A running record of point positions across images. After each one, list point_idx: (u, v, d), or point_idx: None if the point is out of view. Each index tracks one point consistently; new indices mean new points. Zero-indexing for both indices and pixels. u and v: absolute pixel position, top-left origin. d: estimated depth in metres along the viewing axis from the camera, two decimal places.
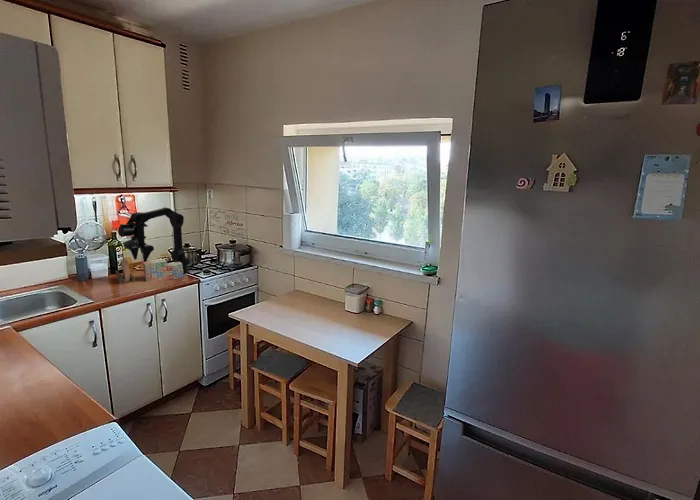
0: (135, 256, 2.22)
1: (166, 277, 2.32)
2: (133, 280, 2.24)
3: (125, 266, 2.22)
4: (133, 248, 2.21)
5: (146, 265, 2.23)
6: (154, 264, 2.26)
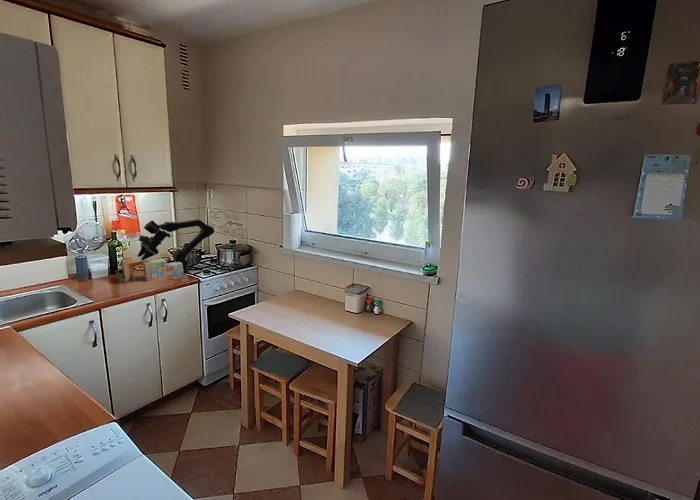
0: (140, 254, 2.33)
1: (166, 277, 2.32)
2: (133, 280, 2.24)
3: (125, 266, 2.22)
4: (144, 247, 2.34)
5: (146, 265, 2.23)
6: (154, 264, 2.26)
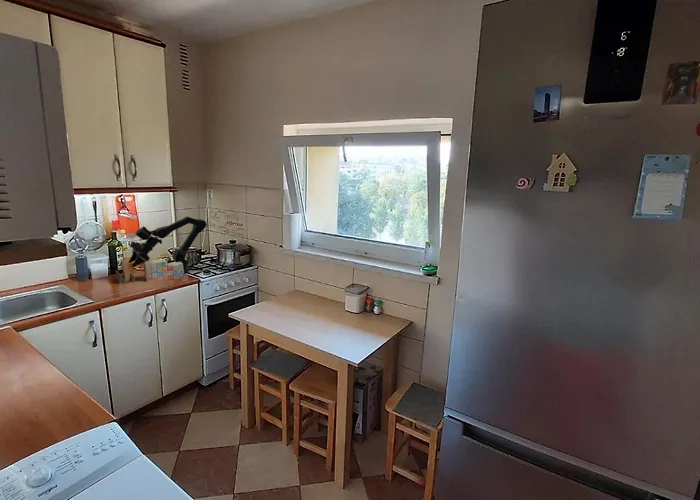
0: (131, 260, 2.30)
1: (167, 277, 2.32)
2: (133, 280, 2.24)
3: (125, 266, 2.22)
4: (136, 253, 2.32)
5: (147, 265, 2.23)
6: (155, 264, 2.26)
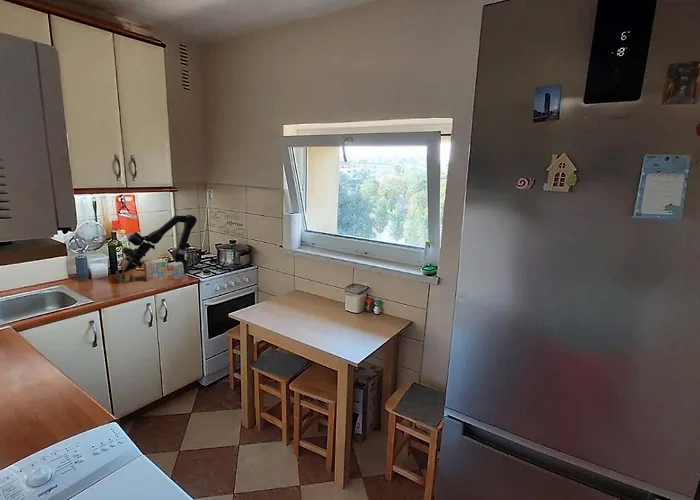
0: None
1: (167, 277, 2.32)
2: (133, 280, 2.24)
3: (125, 266, 2.22)
4: (129, 260, 2.29)
5: (147, 265, 2.23)
6: (155, 264, 2.26)
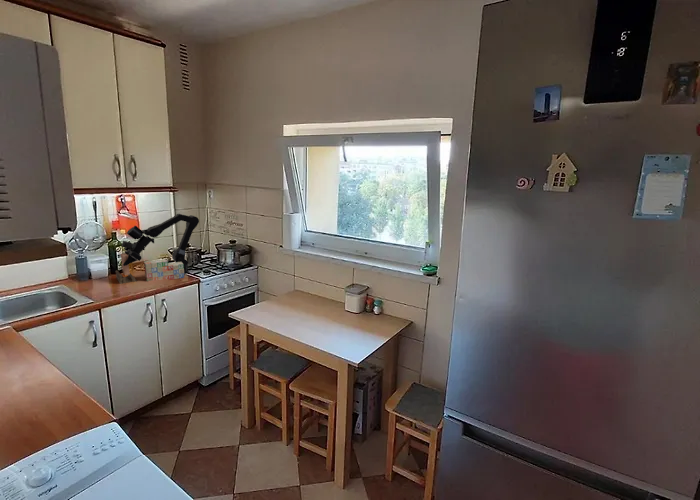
0: None
1: (167, 277, 2.32)
2: (133, 280, 2.24)
3: (124, 260, 2.21)
4: (128, 253, 2.28)
5: (147, 265, 2.24)
6: (155, 264, 2.26)
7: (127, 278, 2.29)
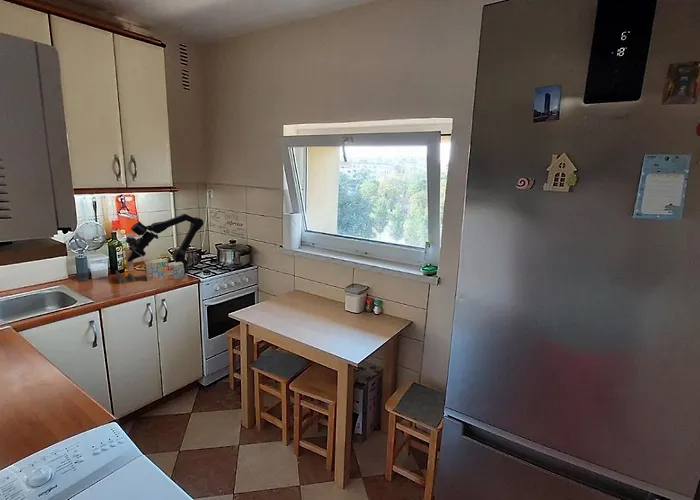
0: None
1: (167, 277, 2.32)
2: (133, 280, 2.24)
3: (128, 255, 2.22)
4: (132, 249, 2.29)
5: (147, 265, 2.24)
6: (155, 264, 2.26)
7: (127, 278, 2.29)
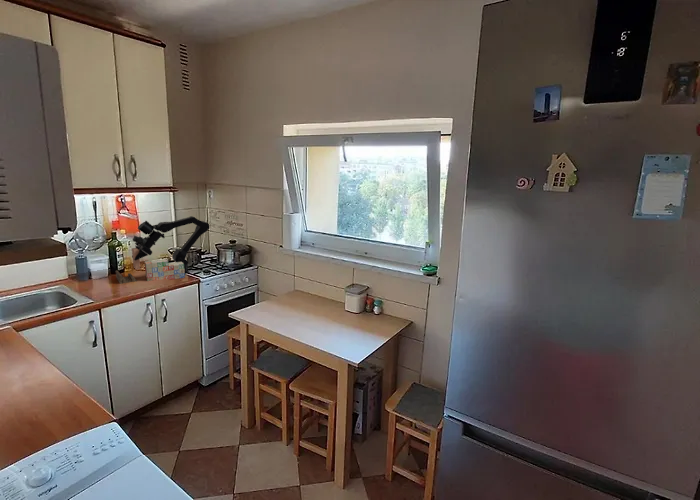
0: None
1: (167, 277, 2.32)
2: (133, 280, 2.24)
3: (135, 254, 2.24)
4: (139, 248, 2.31)
5: (147, 265, 2.24)
6: (155, 264, 2.27)
7: (127, 278, 2.29)
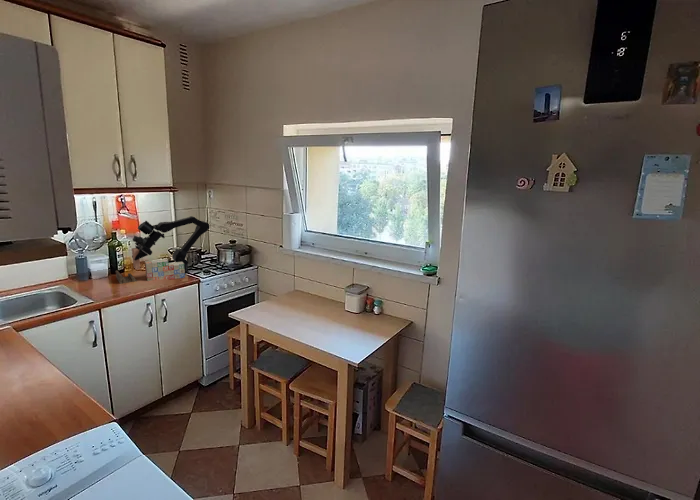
0: None
1: (167, 277, 2.33)
2: (133, 280, 2.24)
3: (135, 254, 2.24)
4: (139, 248, 2.31)
5: (147, 264, 2.24)
6: (155, 263, 2.27)
7: (127, 278, 2.29)
